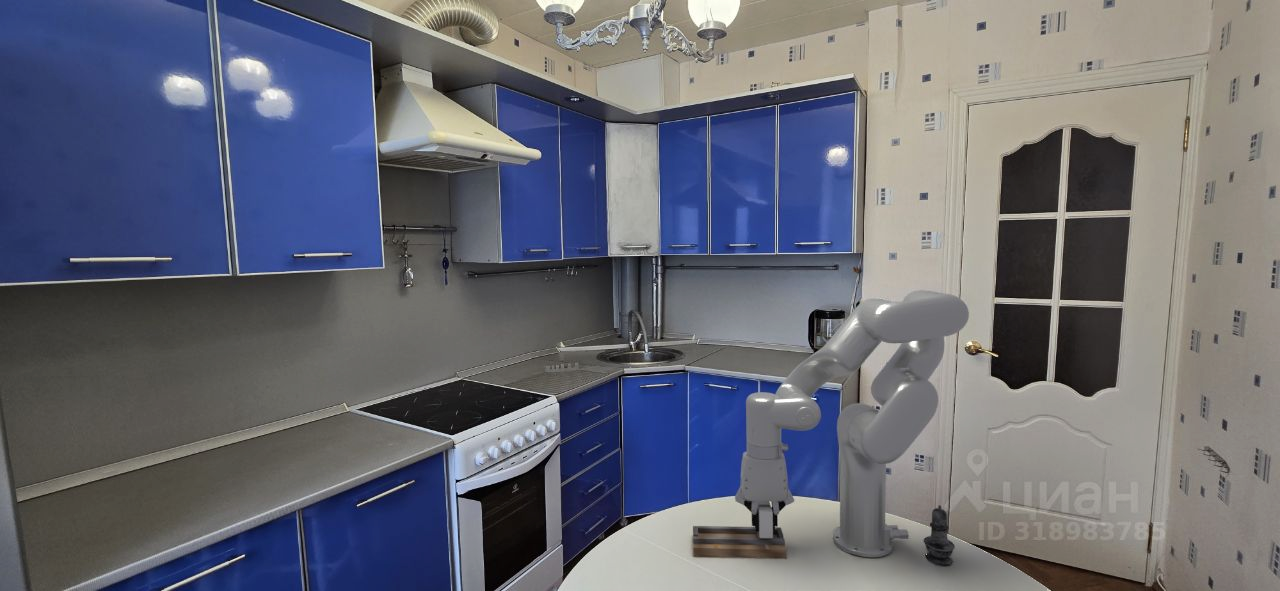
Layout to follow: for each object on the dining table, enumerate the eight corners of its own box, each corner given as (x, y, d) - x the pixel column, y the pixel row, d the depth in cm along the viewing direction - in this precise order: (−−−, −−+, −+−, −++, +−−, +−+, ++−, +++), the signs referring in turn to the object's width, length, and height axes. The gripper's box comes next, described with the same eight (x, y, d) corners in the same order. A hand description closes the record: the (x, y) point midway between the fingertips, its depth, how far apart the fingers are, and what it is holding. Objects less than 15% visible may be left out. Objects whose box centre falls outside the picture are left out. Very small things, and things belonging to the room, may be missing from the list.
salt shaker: (944, 551, 121) (945, 498, 120) (960, 566, 116) (962, 511, 114) (917, 552, 121) (918, 499, 120) (932, 567, 115) (933, 512, 114)
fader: (769, 530, 127) (769, 499, 127) (773, 543, 122) (773, 511, 121) (756, 530, 128) (756, 499, 127) (759, 543, 122) (759, 511, 122)
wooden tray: (779, 536, 129) (779, 521, 129) (786, 558, 120) (786, 542, 120) (693, 535, 131) (692, 520, 131) (693, 556, 122) (693, 540, 122)
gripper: (798, 443, 126) (798, 521, 128) (725, 443, 127) (726, 520, 129) (804, 456, 119) (805, 538, 120) (727, 455, 120) (729, 537, 122)
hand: (764, 528), depth 125 cm, fingers closed on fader, 2 cm apart
